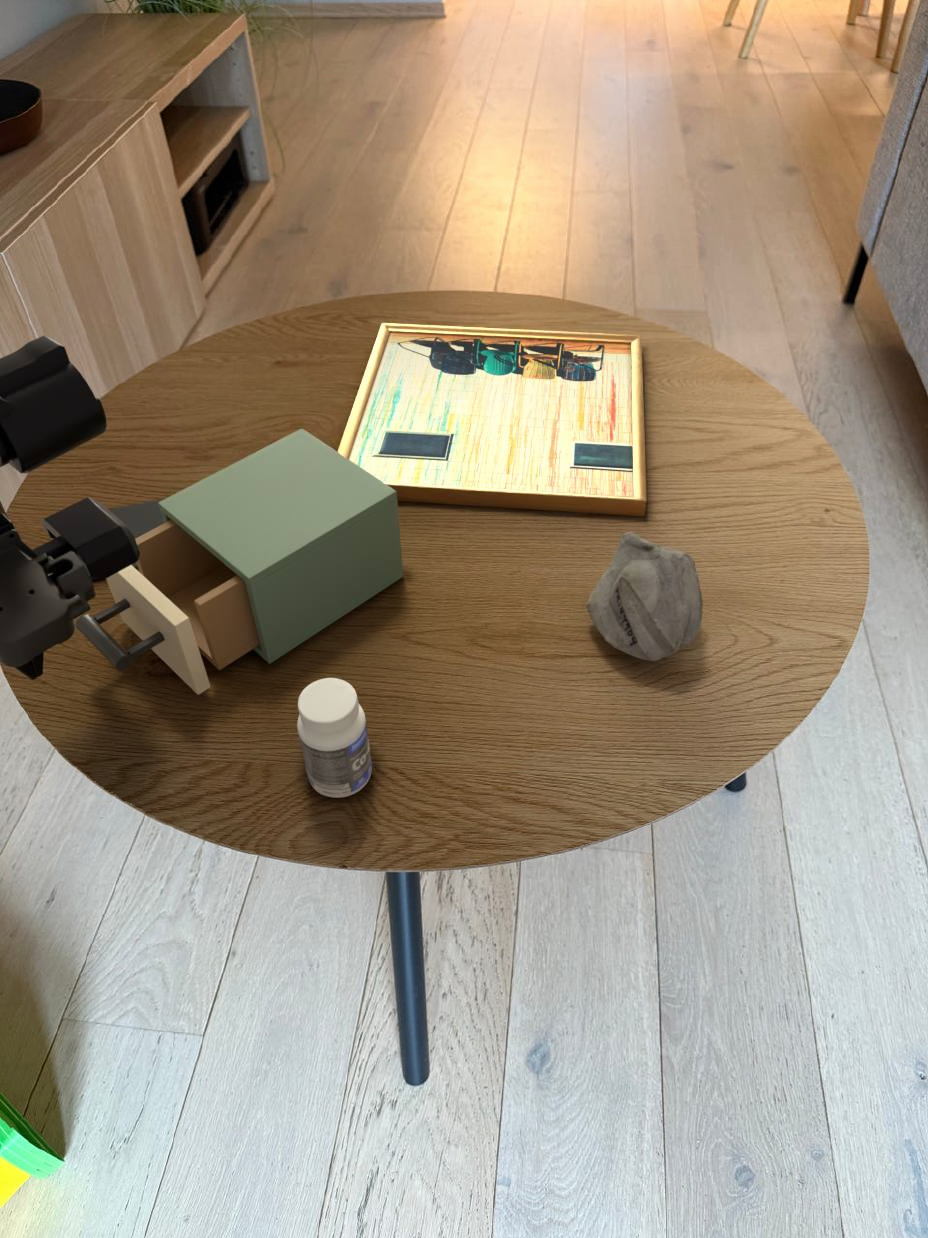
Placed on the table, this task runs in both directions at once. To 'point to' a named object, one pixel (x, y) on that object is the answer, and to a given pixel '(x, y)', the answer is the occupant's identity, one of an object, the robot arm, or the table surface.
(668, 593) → the fossil
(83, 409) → the robot arm
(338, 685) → the pill bottle
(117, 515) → the coaster
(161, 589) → the drawer
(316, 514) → the cabinet
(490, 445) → the picture frame
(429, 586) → the table surface
